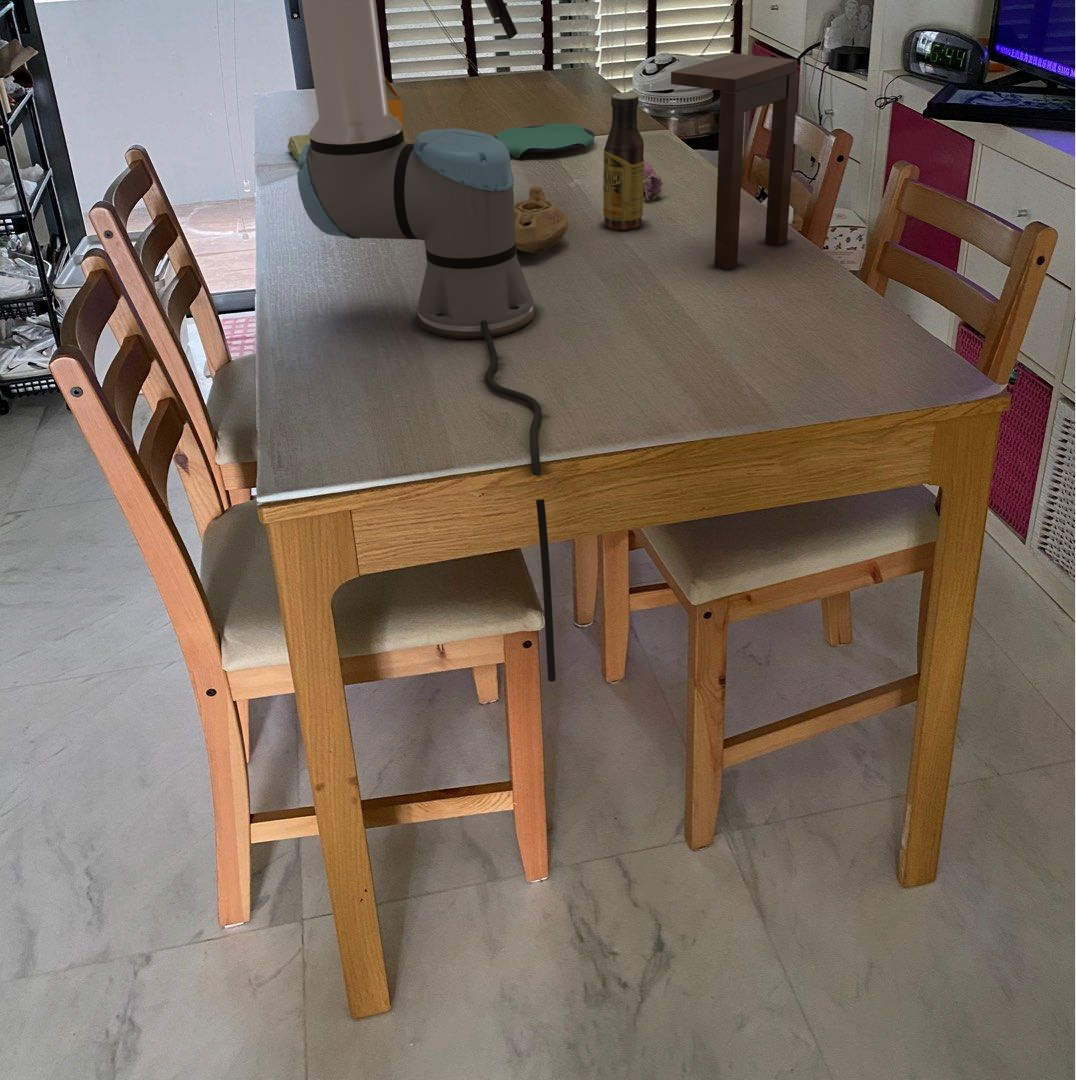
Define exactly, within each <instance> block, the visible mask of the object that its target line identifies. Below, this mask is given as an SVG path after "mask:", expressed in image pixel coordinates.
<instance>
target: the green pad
mask: <svg viewBox="0 0 1076 1080" xmlns="http://www.w3.org/2000/svg"><path fill="white" fill-rule="evenodd" d="M494 137H495V138H497V139H498V140H500V141H501V142H502V143H504V145H505V146H506V147H507V149H508V151H509V154H510V156H513V158H515V159H517V160H518V159H520V157H521V155H522V154H523V153H551V152H553V153H554V152H561V151H567V150H572V149H575V148H580V147H583V148H584V149H585V148H588V147H590V146H592V145H593V144H594V143H595V140H596V139H595V138H596V135H595V133H594V132H593V131H592V130H589V129H588V128H585V127H583V126H582V125H579V124H571V123H550V124H545V125H544V124H542V125H532V126H531V125H530V126H524V127H511V128H507V129H505V130H503V131H501V132H498V133H496V134H495V135H494Z"/></svg>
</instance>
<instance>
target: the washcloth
mask: <svg viewBox="0 0 1076 1080" xmlns="http://www.w3.org/2000/svg"><path fill="white" fill-rule="evenodd" d="M309 143H310V137H309V134H297V135H291V136H290V137H289V138H288V143H287V149H288V151H289V152H291V153H292V155H293V158H294V159H295V160H296V161H298V160H299V156H300V153H301V151H302V149H303V148H304V147H305V146H306V145H307V144H309Z"/></svg>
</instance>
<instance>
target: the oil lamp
mask: <svg viewBox="0 0 1076 1080" xmlns="http://www.w3.org/2000/svg"><path fill="white" fill-rule="evenodd" d="M528 192H529V194H528V195H529V197H528V199H526V200H522V201H519V202H516V203H514V215H515V234H516V250H518V251H521V252H524V253H540V252H544V251H547V250H549V249H550V248H552V247H554V245H555V244H557V242H559V240H560V239H562V238H563V237H564V236H565V235H566V233H567V231H568V228H569V220H568V219H569V218H568V216H567V215H565V213H564V212H563V211H562V210H561V209H560V208H559V207H558V205H556V204H555V203H554V202H553V201H551V200H549V199H547V198H546V194H545V192H544V191H543V189H542V186H541V185H534V186H531V187H530V188H529V191H528Z"/></svg>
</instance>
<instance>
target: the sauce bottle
mask: <svg viewBox="0 0 1076 1080" xmlns="http://www.w3.org/2000/svg"><path fill="white" fill-rule="evenodd" d="M610 104H611V105H610V106H611V107H612V109H611V110H612V111H611V112H612V114H611V115H612V116H611V119H612V121H611V126H610V129H609V132H608V136H607V139H606V142H605V145H604V148H603V183H602V184H603V186H602V188H603V189H602V191H603V201H602V202H603V203H602V204H603V205H602V206H603V207H602V208H603V211H602V212H603V213H602V214H603V216H604V217H603V221H604V225H605V226H606V227H607V228H609V229H613V230H616V231H624V230H632V229H635V228H638V227H640V226H641V225H642V222H643V218H642V217H643V213H644V192H643V183H644V182H645V180H644V160H645V159H644V147H645V143H644V139H643V136H642V135H641V132H640V130H639V129H638V105H639V95H638V94H637V93H634V92H617V93H614V94H612V95H611V100H610Z"/></svg>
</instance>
